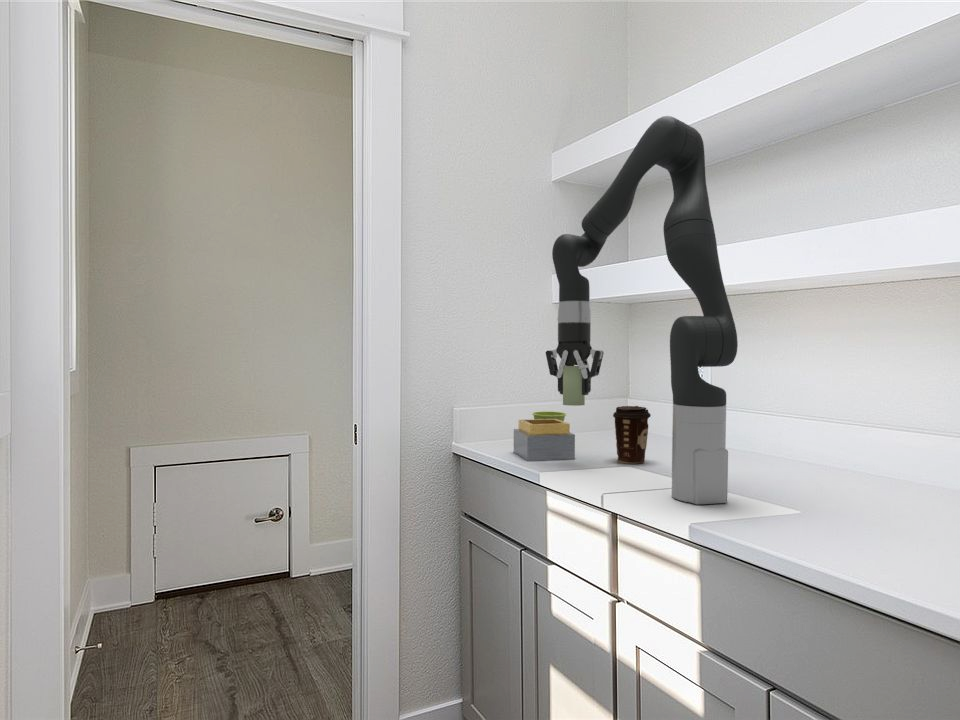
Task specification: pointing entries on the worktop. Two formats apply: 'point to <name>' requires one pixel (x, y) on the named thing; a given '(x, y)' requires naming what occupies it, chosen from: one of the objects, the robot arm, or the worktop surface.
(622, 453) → the coffee cup
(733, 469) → the worktop surface
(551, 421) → the open square metal box
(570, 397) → the spout can
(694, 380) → the robot arm
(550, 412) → the plant pot
